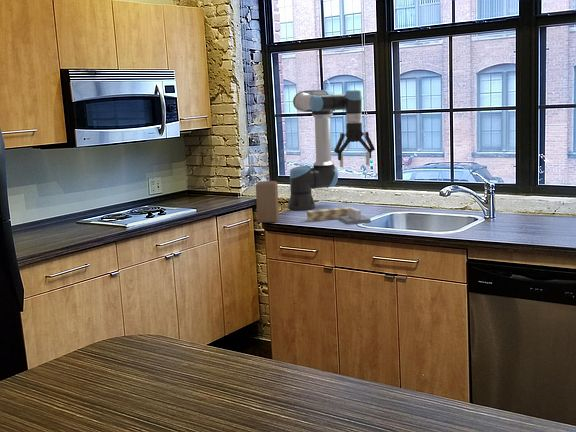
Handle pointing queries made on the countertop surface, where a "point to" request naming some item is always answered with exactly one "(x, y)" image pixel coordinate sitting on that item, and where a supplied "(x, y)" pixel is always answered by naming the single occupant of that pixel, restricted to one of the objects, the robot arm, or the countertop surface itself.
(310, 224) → the countertop surface
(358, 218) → the fulcrum
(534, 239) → the countertop surface
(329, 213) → the beech bar
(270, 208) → the wooden block
